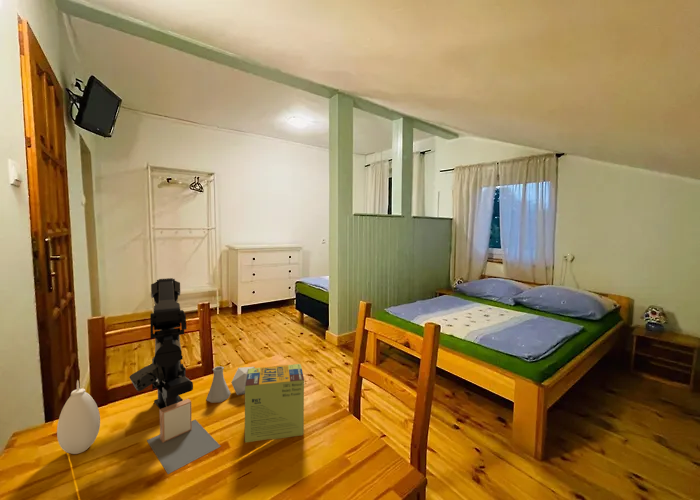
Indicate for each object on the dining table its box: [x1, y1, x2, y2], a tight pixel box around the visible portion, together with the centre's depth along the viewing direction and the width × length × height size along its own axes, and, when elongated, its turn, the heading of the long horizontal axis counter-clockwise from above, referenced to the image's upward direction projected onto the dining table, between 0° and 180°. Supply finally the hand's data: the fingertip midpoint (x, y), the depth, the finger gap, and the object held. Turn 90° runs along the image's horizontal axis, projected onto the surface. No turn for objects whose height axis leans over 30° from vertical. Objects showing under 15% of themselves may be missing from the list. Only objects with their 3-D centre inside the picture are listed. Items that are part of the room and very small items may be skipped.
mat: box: [146, 419, 222, 475], centre depth 77 cm, size 16×12×1 cm
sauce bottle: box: [56, 379, 101, 455], centre depth 74 cm, size 8×8×18 cm
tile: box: [159, 398, 193, 442], centre depth 80 cm, size 2×7×8 cm, turn 138°
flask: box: [205, 365, 231, 404], centre depth 99 cm, size 7×7×10 cm
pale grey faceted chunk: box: [231, 366, 256, 396], centre depth 103 cm, size 8×9×10 cm
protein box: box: [244, 363, 305, 443], centre depth 85 cm, size 10×15×16 cm
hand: (169, 407), depth 84 cm, fingers closed
